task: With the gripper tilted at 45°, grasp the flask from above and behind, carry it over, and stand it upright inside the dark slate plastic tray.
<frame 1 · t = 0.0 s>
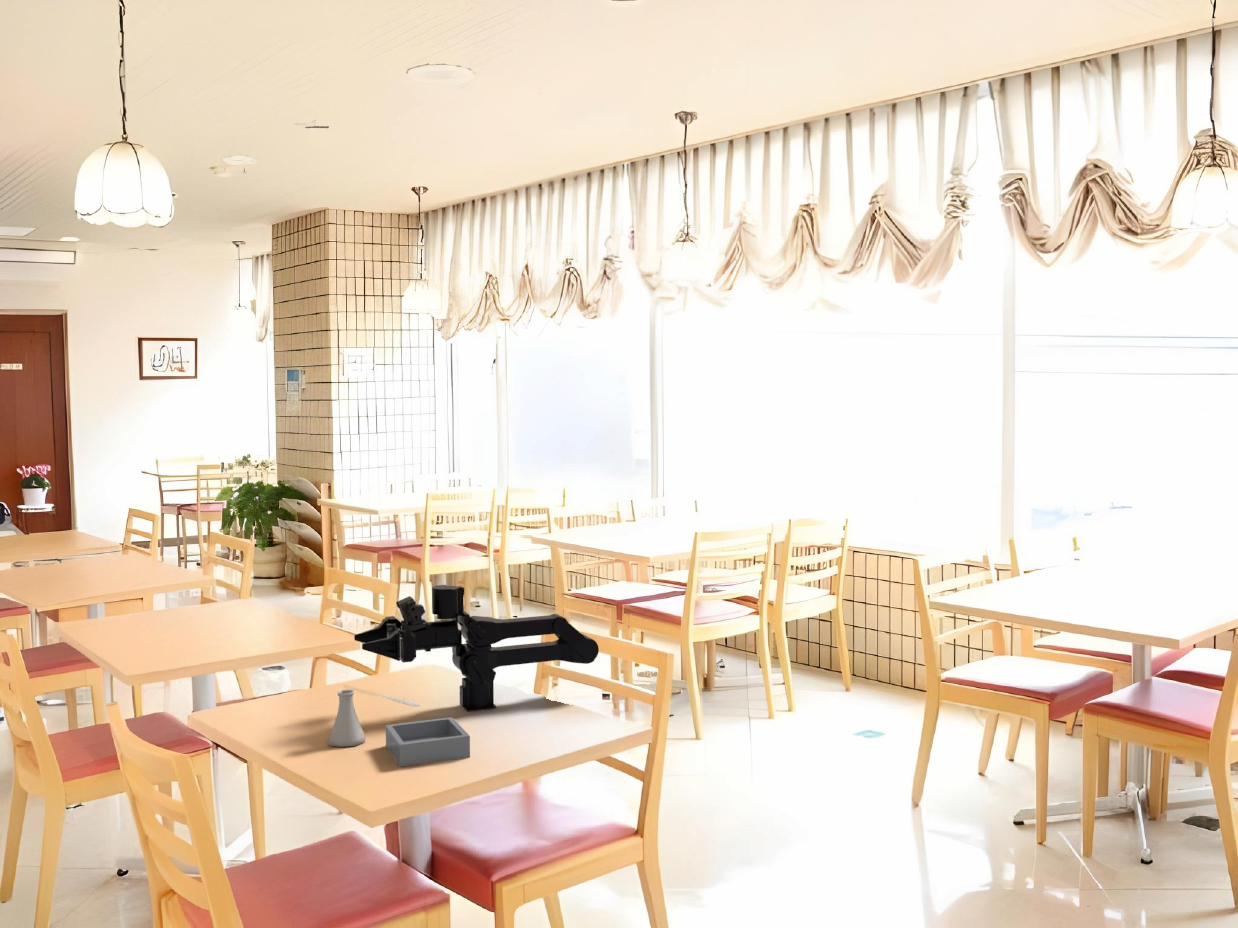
hand: (358, 642, 217), 17 cm above the table, tool horizontal, fingers open, 9 cm apart
flask: (346, 743, 204), on the table
butter knife: (378, 697, 237), on the table
tray: (427, 751, 198), on the table
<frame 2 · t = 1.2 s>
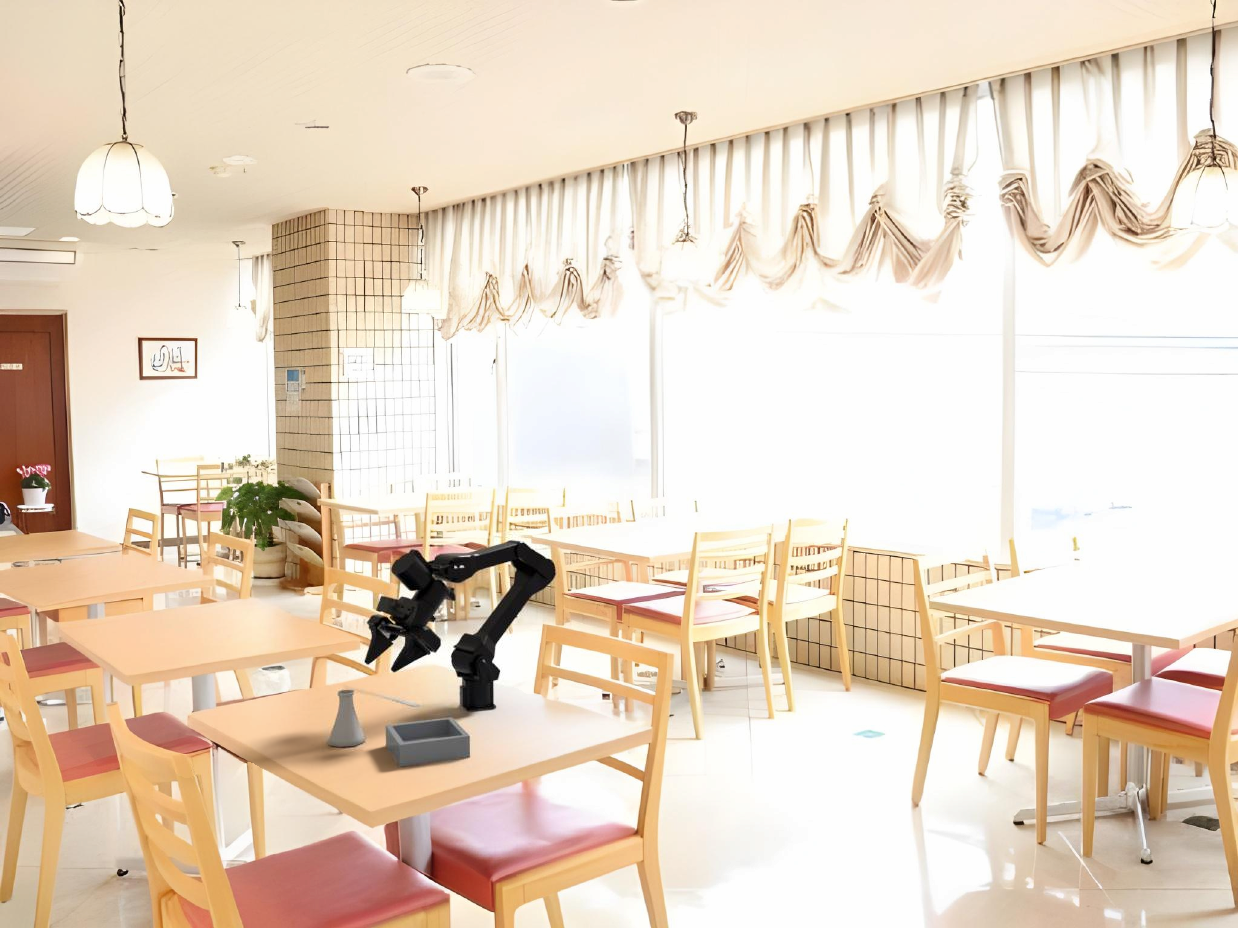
hand: (379, 667, 209), 13 cm above the table, tool tilted 45°, fingers open, 9 cm apart
nothing on the table moved.
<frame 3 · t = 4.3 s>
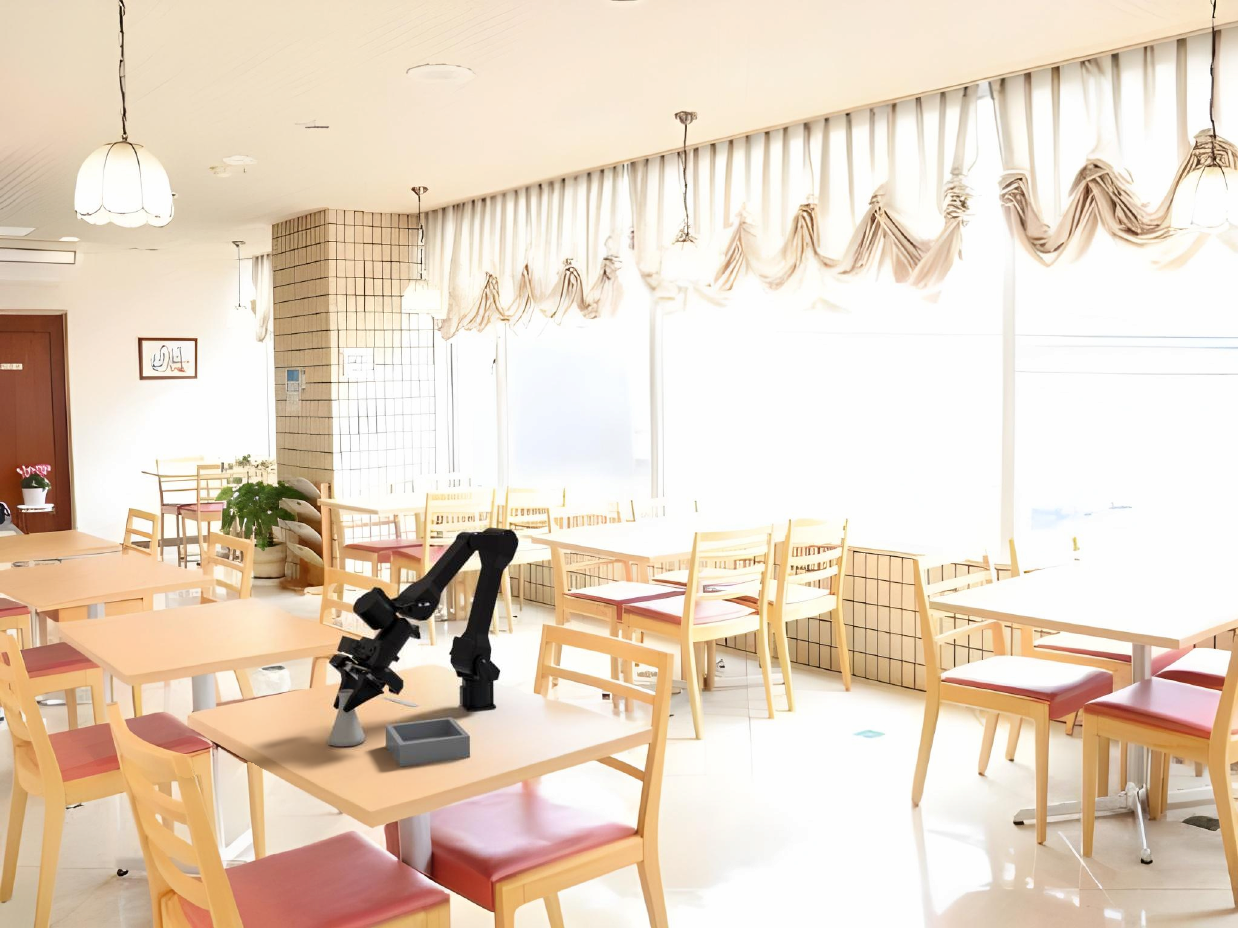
hand: (339, 709, 203), 7 cm above the table, tool tilted 45°, fingers closed on flask, 3 cm apart
flask: (346, 742, 204), on the table, touching gripper
everything else where it was.
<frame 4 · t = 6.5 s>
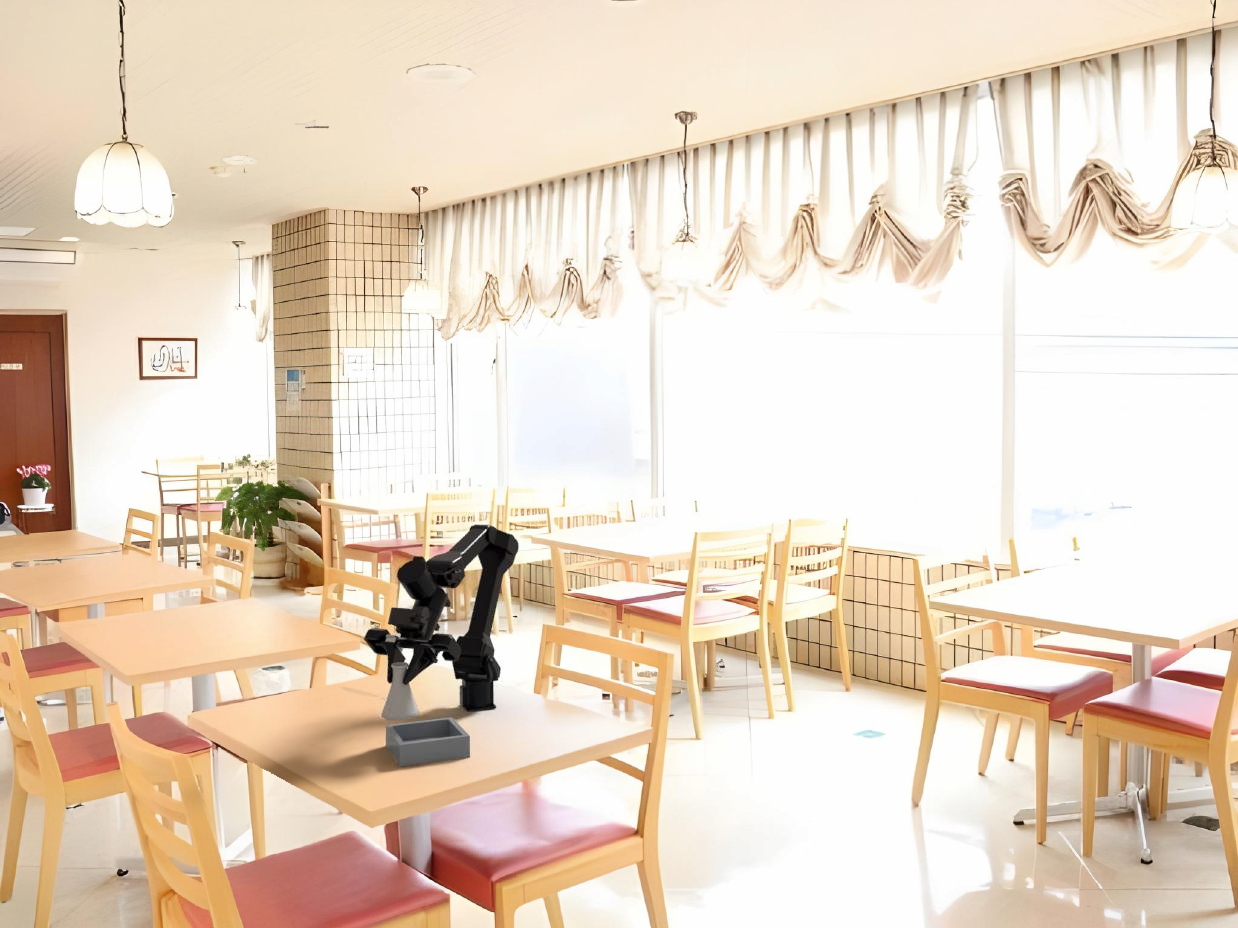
hand: (396, 682, 197), 13 cm above the table, tool tilted 45°, fingers closed on flask, 3 cm apart
flask: (400, 716, 199), point 6 cm above the table, touching gripper
everything else where it was.
when the fingers open (9 cm above the table, at t = 8.6 s): flask drops 1 cm, resting on tray.
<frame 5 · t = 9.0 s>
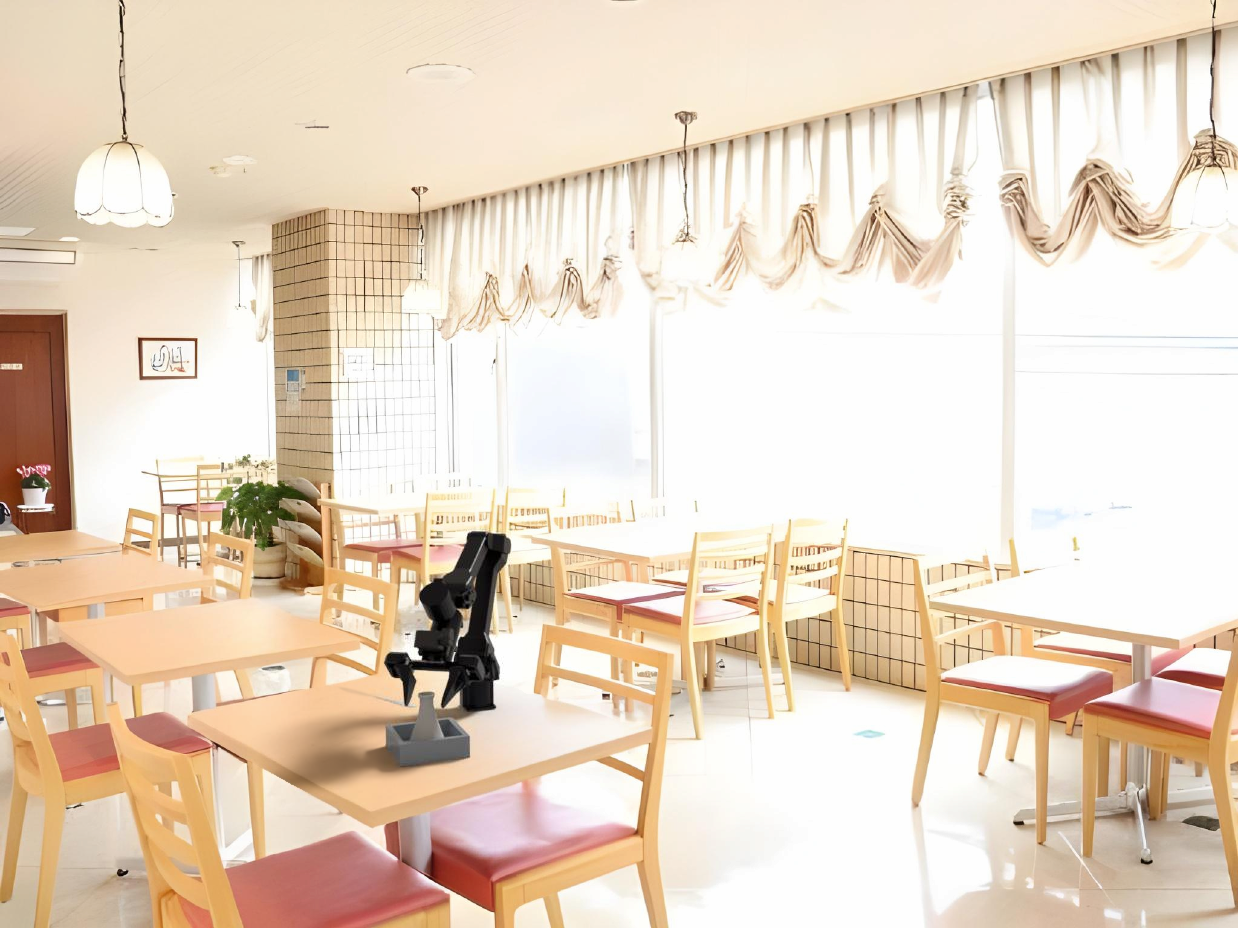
hand: (423, 705, 196), 9 cm above the table, tool tilted 45°, fingers open, 7 cm apart
flask: (427, 746, 198), point 1 cm above the table, touching tray
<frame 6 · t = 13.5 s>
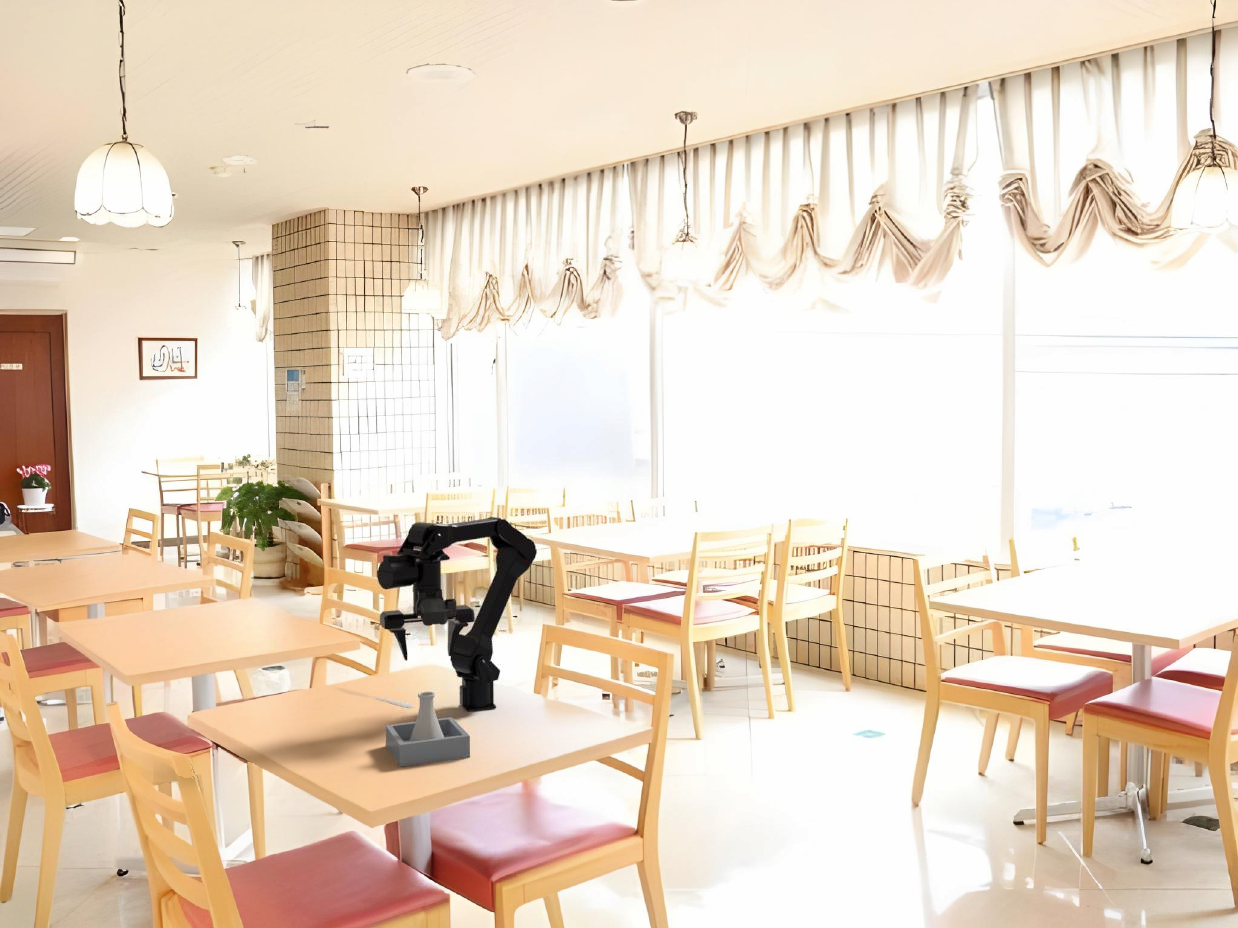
hand: (427, 657, 218), 13 cm above the table, tool pointing down, fingers open, 9 cm apart
at the end: flask 0.2 cm off-centre on the tray, point 0.8 cm above the tray's base; flask tilted 0°; the gripper is holding nothing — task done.
